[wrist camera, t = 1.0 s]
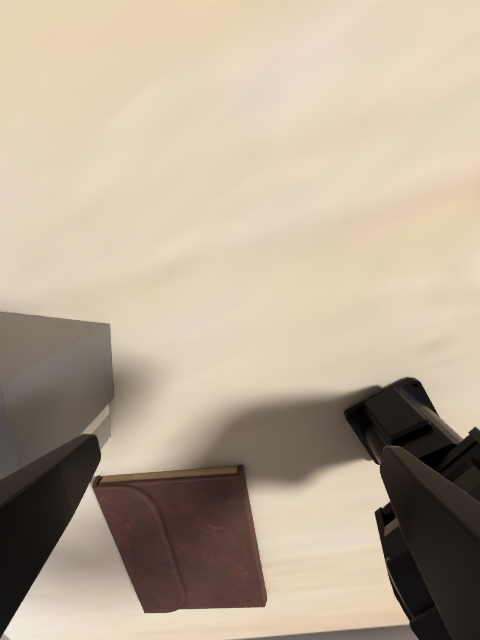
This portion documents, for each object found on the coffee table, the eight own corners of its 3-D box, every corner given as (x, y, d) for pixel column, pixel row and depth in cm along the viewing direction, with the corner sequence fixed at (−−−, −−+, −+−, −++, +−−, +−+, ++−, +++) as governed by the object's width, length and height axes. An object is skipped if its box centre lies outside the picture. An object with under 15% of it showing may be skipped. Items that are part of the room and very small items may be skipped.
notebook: (243, 460, 24) (242, 478, 22) (266, 588, 29) (267, 612, 28) (100, 470, 25) (88, 489, 23) (148, 591, 31) (141, 614, 29)
